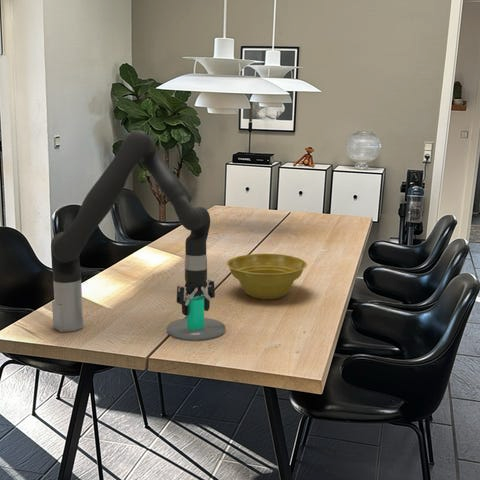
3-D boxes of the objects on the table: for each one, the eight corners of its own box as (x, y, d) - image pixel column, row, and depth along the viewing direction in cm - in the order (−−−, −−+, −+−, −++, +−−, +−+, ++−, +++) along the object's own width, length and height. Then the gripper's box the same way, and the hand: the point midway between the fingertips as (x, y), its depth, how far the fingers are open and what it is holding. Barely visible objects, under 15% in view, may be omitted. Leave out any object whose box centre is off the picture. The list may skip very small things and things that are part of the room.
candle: (194, 322, 234) (194, 289, 232) (207, 326, 231) (207, 293, 228) (183, 327, 230) (182, 293, 227) (196, 331, 226) (195, 297, 224)
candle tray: (189, 345, 217) (189, 341, 217) (155, 328, 232) (155, 325, 232) (237, 332, 229) (237, 328, 229) (202, 317, 244) (202, 313, 244)
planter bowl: (245, 311, 252) (246, 276, 249) (214, 288, 281) (214, 257, 278) (320, 301, 265) (321, 268, 262) (283, 280, 293) (283, 250, 290)
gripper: (184, 272, 218) (185, 319, 222) (219, 265, 227) (219, 311, 231) (172, 267, 224) (172, 314, 228) (206, 261, 233) (206, 306, 236)
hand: (195, 312), depth 229 cm, fingers open, 8 cm apart
